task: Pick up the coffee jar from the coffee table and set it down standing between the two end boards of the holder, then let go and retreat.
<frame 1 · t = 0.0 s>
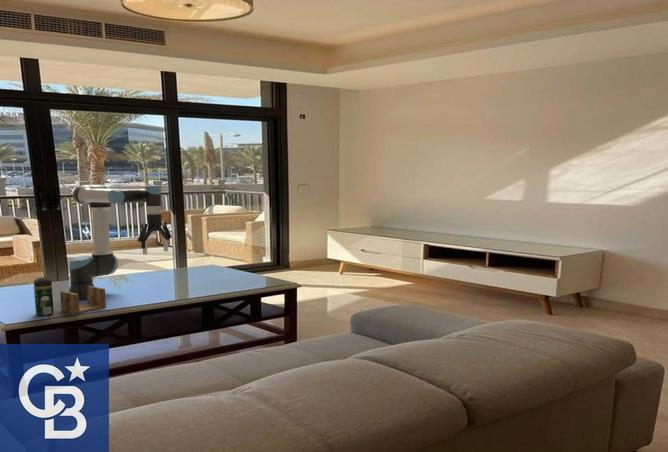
hand: (155, 252, 275), 28 cm above the table, fingers open, 13 cm apart
holder: (83, 309, 266), on the table
coffee jar: (44, 314, 257), on the table
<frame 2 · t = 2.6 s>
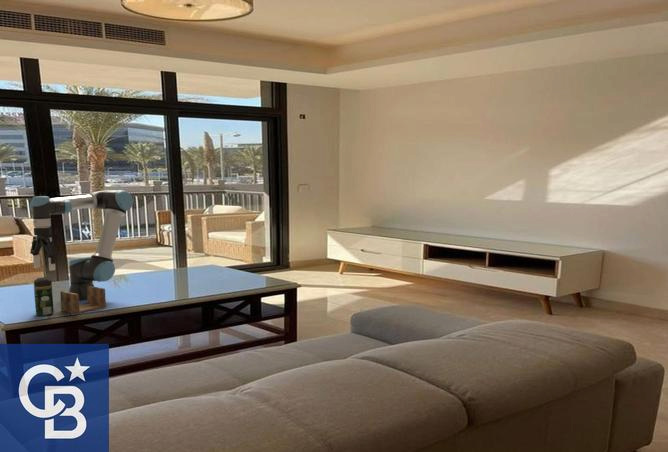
hand: (44, 269, 255), 23 cm above the table, fingers open, 13 cm apart
nothing on the table moved.
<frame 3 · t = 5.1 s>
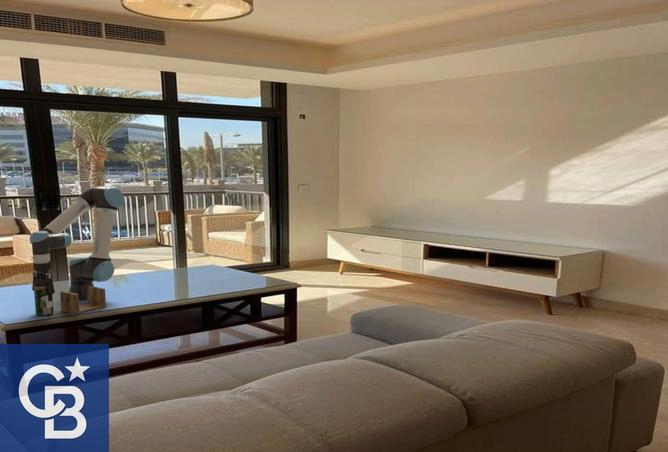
hand: (44, 306, 257), 4 cm above the table, fingers closed on coffee jar, 9 cm apart
coffee jar: (44, 314, 257), on the table, touching gripper
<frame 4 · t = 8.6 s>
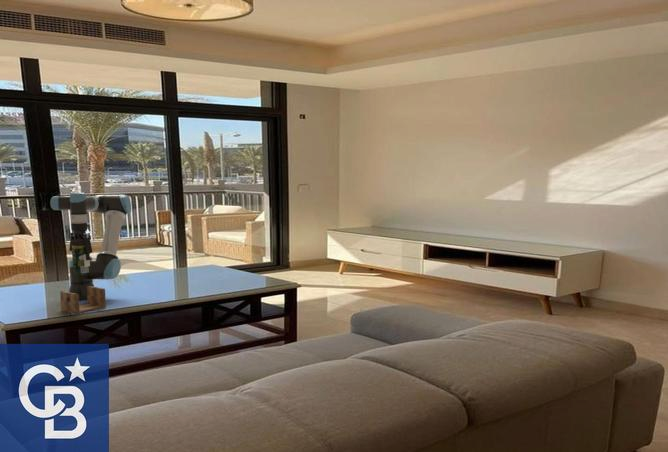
hand: (81, 265, 264), 23 cm above the table, fingers closed on coffee jar, 9 cm apart
coffee jar: (81, 273, 265), point 19 cm above the table, touching gripper
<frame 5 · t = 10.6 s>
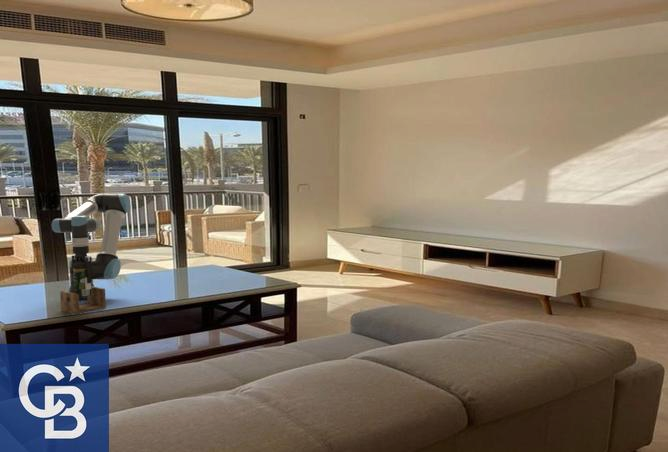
hand: (82, 288, 265), 11 cm above the table, fingers closed on coffee jar, 9 cm apart
coffee jar: (82, 296, 266), point 7 cm above the table, touching gripper
when the fingers open (6 cm above the table, at t = 12.2 s): coffee jar stays where it is, resting on holder.
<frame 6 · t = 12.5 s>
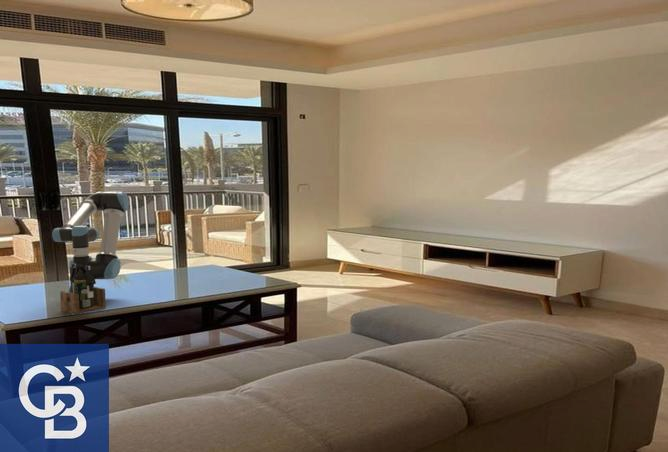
hand: (83, 296, 266), 7 cm above the table, fingers open, 12 cm apart
coffee jar: (83, 307, 266), point 1 cm above the table, touching holder
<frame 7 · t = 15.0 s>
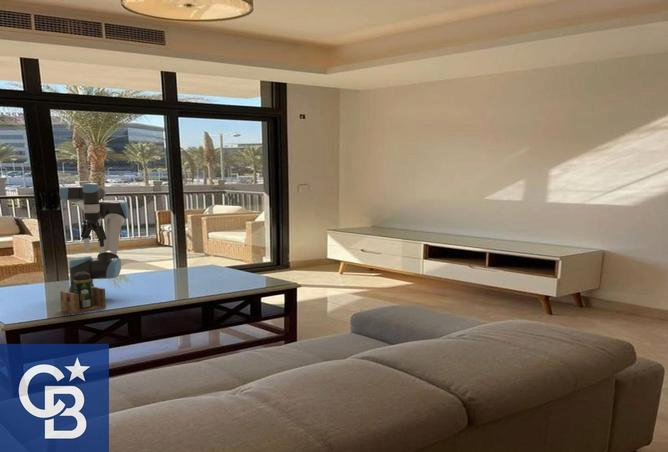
hand: (94, 251, 273), 29 cm above the table, fingers open, 13 cm apart
nothing on the table moved.
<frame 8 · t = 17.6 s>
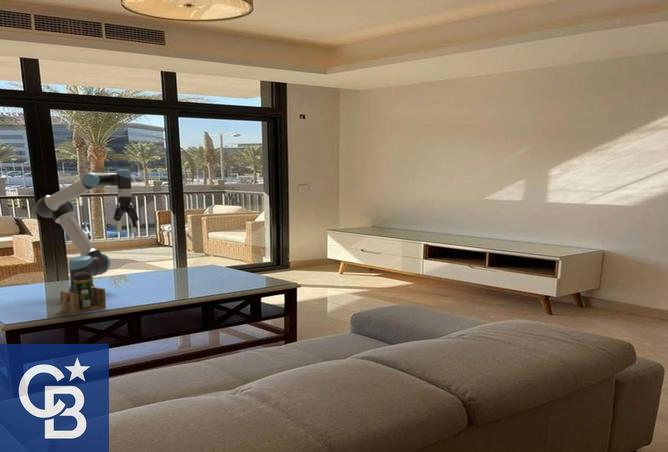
hand: (126, 232, 298), 37 cm above the table, fingers open, 13 cm apart
nothing on the table moved.
at the end: coffee jar inside the target area on the holder (0.1 cm from its centre), point 1.0 cm above the holder's base; coffee jar tilted 0°; the gripper is holding nothing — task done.
